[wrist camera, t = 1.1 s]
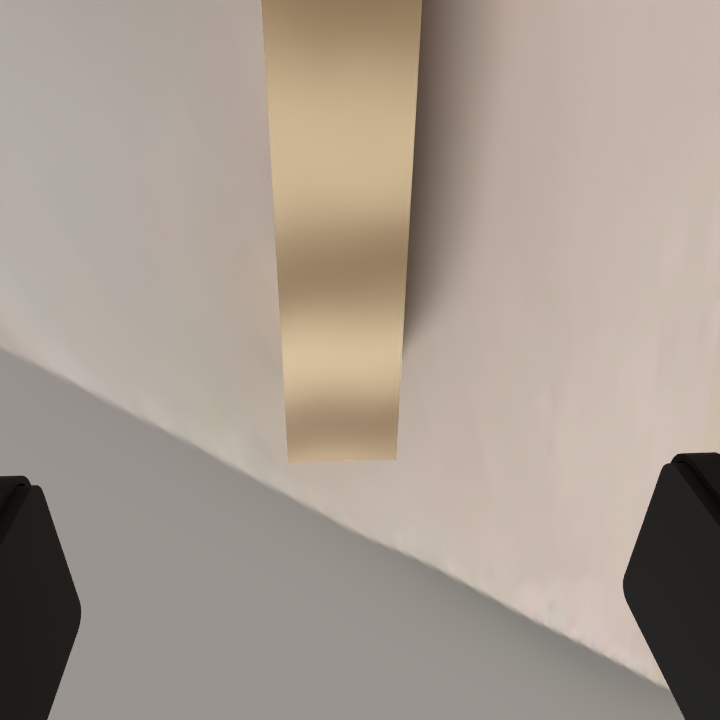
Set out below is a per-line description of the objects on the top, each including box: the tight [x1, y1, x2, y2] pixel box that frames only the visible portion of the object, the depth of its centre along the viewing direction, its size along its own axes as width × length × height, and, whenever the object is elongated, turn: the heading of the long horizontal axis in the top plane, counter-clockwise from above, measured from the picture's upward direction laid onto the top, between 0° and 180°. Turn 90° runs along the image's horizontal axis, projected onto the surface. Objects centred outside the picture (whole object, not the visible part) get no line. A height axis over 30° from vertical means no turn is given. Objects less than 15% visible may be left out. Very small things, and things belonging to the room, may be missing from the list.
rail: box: [262, 0, 422, 463], centre depth 22 cm, size 17×4×6 cm, turn 179°
